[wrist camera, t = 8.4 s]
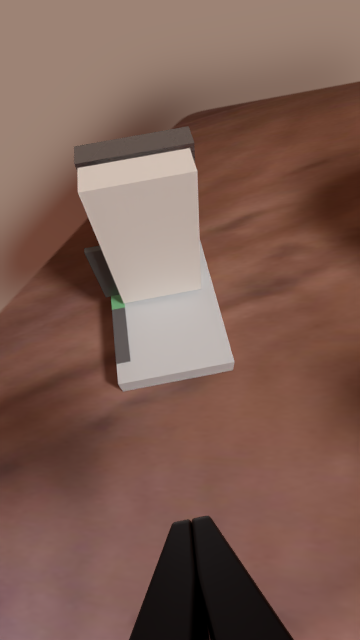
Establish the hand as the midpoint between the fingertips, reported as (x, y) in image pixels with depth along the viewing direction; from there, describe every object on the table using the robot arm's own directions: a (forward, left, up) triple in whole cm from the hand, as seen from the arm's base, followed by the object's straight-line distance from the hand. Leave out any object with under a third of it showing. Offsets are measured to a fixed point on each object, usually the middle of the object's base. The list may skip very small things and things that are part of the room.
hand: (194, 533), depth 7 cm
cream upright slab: (+16, +6, -12) cm, 20 cm away
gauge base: (+15, +5, -13) cm, 21 cm away
